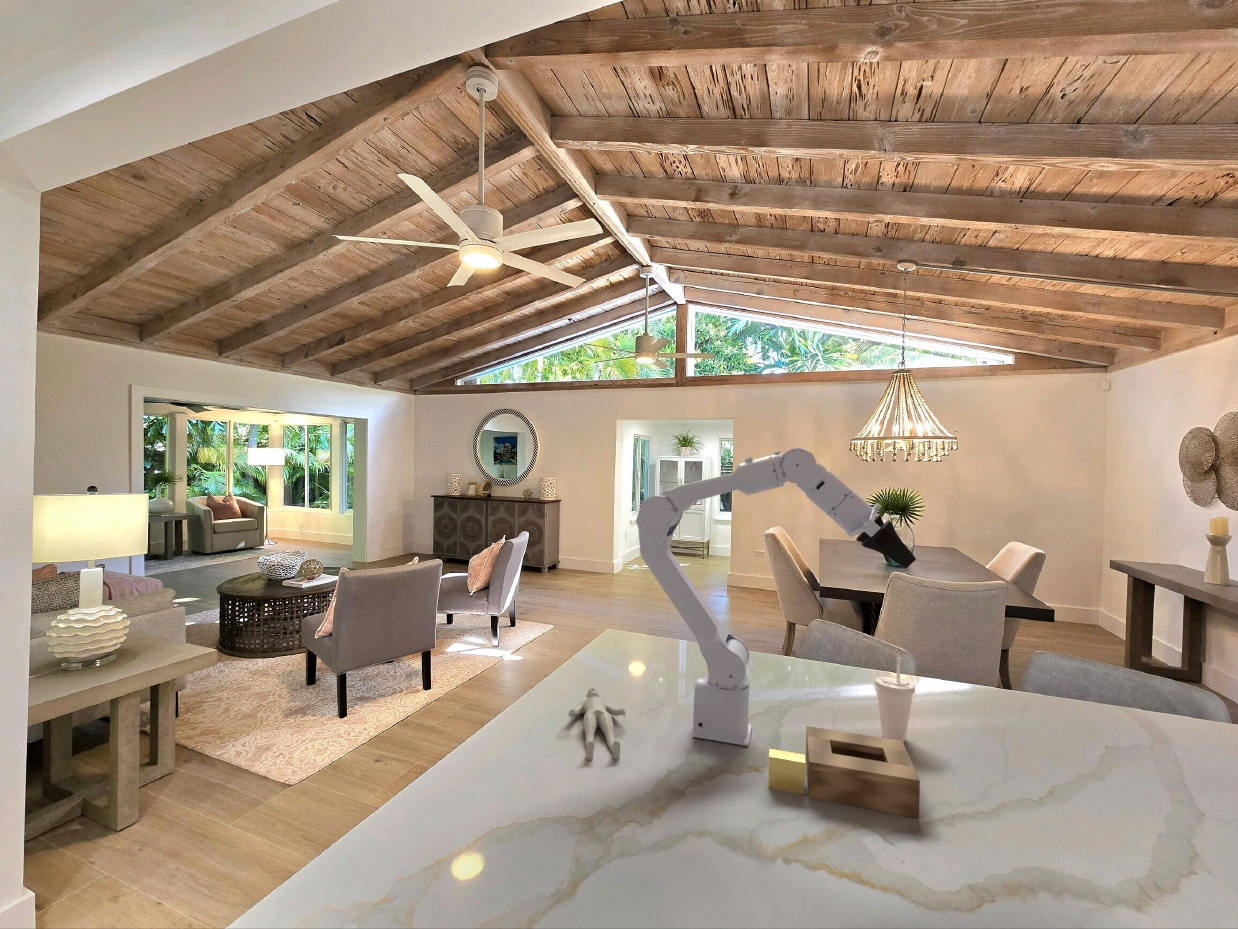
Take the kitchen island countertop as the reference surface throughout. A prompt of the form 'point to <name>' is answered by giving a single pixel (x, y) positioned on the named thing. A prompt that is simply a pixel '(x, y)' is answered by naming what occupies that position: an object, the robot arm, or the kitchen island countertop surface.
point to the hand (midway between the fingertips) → (906, 560)
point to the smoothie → (894, 704)
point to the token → (786, 771)
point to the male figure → (598, 721)
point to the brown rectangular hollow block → (861, 771)
